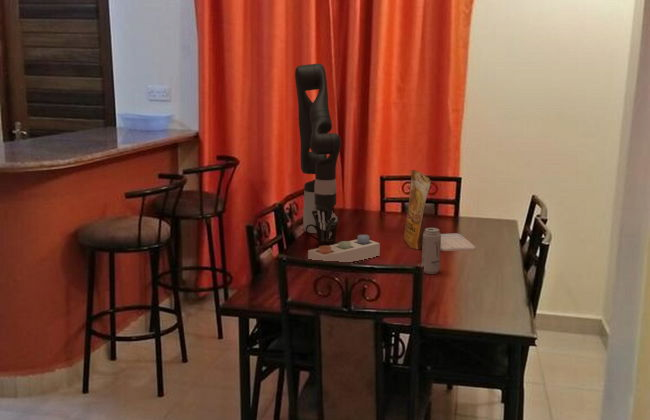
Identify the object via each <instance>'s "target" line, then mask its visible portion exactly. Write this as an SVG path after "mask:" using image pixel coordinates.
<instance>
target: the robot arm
mask: <svg viewBox="0 0 650 420" xmlns="http://www.w3.org/2000/svg"><path fill="white" fill-rule="evenodd" d="M294 80H295V88H296V95H297V105H298V106H297V107H298V131H299V138H300V139H299V140H300V141H299V142H300V169H301V172H302V173H303V174H306V175H315V176H314V178H315V179H313V180H310V181H307V182H305V183H304V187H303V188H304V191H303V192H304V194H303V196H304V198H303V199H304V202H303V203H304V205H303V208H302V214H303V215H302V220H303V222H302V223H303V224H302V229H303V230H304V232H306V227H307V226H308V225H310V224H312V225H315V226H316V224H317V226H319V227H320V229H321V237H322V240H328V239H329V230H330V229H333V228H334V227H335V225H336V224H337V222H339V221H340V217H339V216H337V215H336V213H335V212H336V211H335V206H337V180H336V179H337V162H338V158H339V155H340V151H341V148H342V138H341V137H340V135H339V134H338V133H335V132H331V130H332V129H333V124H332V123H333V122H332V119H331V114H330V113H331V112H330V109H329V93H328V82H327V73H326V70H325V66H324V65H323V64H322V63H312V64H311V63H310V64H301V65H298V66H296V68H295V70H294ZM315 90H318V93H317V95H316V97H315V99H314V100H313V101H312V100H311V99H310V97H309V95H308V94H307V92H306V91H315ZM310 150H311V151H310ZM327 155H328V156H327ZM318 220H319V221H318ZM327 224H328V225H327ZM337 225H338V224H337ZM307 231H308V232H309V234H317V231H316V229H315V228H314V227H313V226H309V227H308V228H307Z"/></svg>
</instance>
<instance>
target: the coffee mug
mask: <svg viewBox="0 0 650 420" xmlns="http://www.w3.org/2000/svg"><path fill="white" fill-rule="evenodd" d="M318 221H319V220H318ZM338 222H339V221H338ZM338 222H337V224H336V225H335V227H334V228H333V229H330V230H329V239H328V240H322V237H321V229H320V227H319V226H317V224H316V226H315V225H312V224H310V225H308V226H307V227H306V231H305V233H306V234H308V236H310V237H312V238H313V239H315V240H316V241H317V246H323V245H326V246H330V245H334V244H336V239H337V233H338V232H337V231H338ZM327 225H328V224H327ZM309 226H313V227H314V228H315V229H316V231H317V233H316V236H314V235H312V233H309V232H308V231H307V228H308V227H309Z"/></svg>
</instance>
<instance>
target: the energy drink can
mask: <svg viewBox="0 0 650 420" xmlns="http://www.w3.org/2000/svg"><path fill="white" fill-rule="evenodd" d="M441 234H442V233H441V232H440V229H439V228H437V227H426V228H424V231H423V235H422V248H421V249H422V250H421V266H422V265H423V266H424V272H423V273H424V274H427V275H436V274H438V273H439V271H440V263H441V250H440V246H441Z"/></svg>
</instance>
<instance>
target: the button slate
mask: <svg viewBox="0 0 650 420" xmlns="http://www.w3.org/2000/svg"><path fill="white" fill-rule="evenodd" d="M369 240H370V235H368V234H358V235H357V244H360V245H366V244H369Z"/></svg>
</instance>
